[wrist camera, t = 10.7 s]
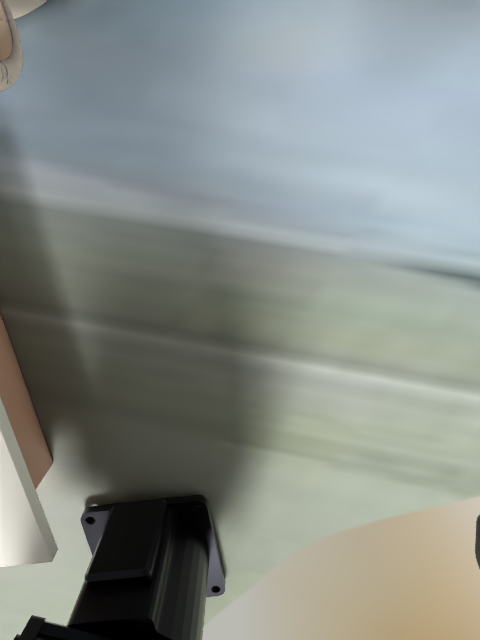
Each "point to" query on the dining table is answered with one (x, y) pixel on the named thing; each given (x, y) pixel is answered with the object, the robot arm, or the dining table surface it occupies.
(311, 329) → the dining table surface
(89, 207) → the dining table surface
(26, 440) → the open box
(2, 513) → the cover board
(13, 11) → the teacup with lid
